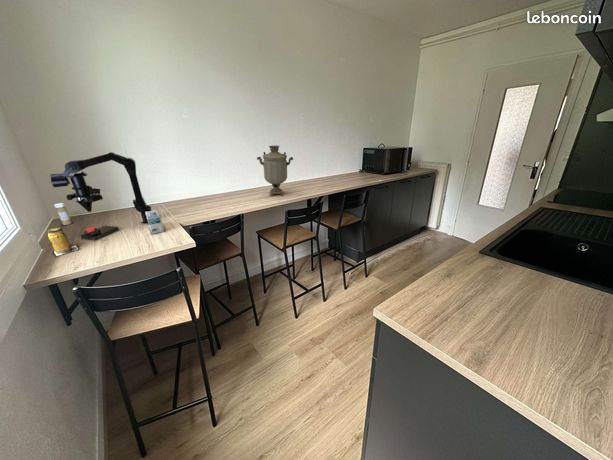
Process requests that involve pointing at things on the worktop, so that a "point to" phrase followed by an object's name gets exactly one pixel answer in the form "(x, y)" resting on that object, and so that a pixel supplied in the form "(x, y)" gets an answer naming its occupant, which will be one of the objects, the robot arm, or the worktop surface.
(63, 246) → the condiment
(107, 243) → the worktop surface
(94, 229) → the button
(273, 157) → the samovar
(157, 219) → the light bulb box
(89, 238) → the black control pad
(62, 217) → the sprinkles bottle
